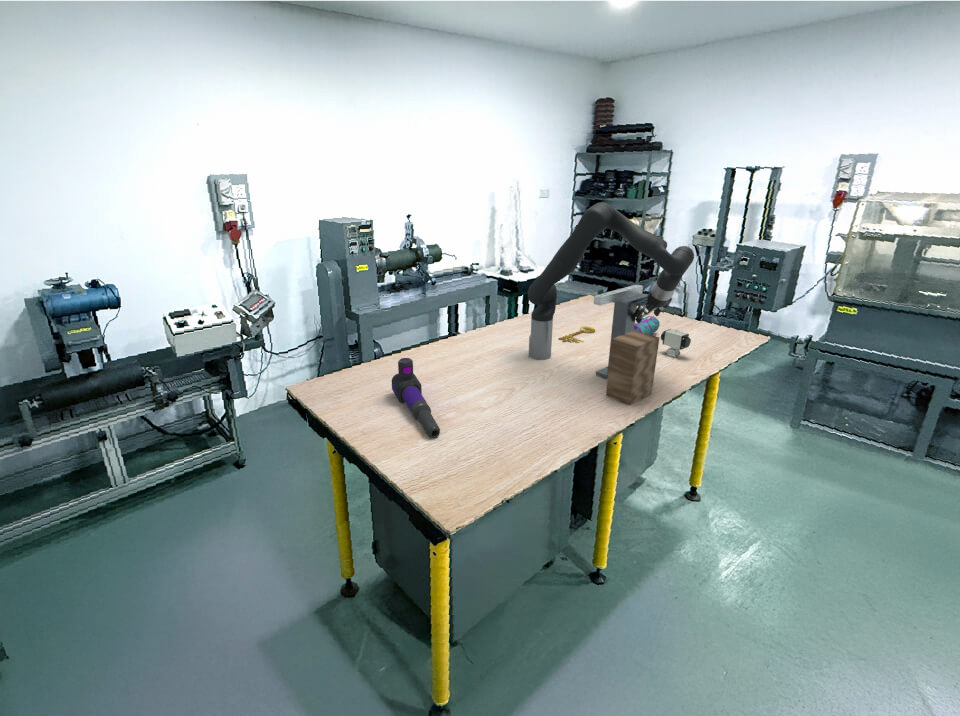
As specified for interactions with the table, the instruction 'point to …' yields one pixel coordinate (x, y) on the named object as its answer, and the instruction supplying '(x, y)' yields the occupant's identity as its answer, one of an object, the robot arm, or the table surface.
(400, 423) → the table surface
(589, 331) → the key
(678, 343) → the mini surveillance camera
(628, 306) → the steel stand
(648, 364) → the block
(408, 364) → the device
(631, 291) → the aluminium bar
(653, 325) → the pencil case
